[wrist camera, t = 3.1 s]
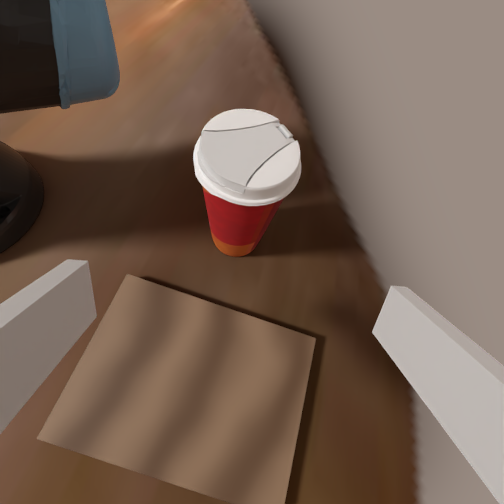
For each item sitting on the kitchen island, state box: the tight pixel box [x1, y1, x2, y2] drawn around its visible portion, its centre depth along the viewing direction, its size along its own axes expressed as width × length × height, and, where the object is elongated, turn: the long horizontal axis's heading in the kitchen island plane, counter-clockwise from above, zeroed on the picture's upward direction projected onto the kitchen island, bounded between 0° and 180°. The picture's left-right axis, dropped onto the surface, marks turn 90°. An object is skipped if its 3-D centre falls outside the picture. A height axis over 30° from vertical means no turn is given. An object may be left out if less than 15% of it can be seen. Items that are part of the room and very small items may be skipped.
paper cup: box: [193, 109, 301, 257], centre depth 22 cm, size 8×8×14 cm
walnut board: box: [37, 274, 316, 504], centre depth 22 cm, size 20×14×2 cm
